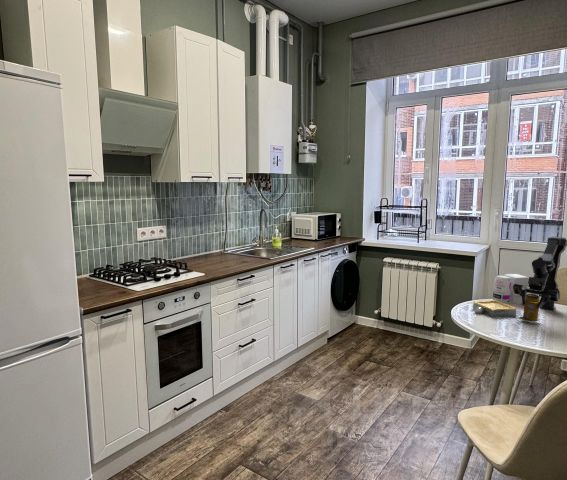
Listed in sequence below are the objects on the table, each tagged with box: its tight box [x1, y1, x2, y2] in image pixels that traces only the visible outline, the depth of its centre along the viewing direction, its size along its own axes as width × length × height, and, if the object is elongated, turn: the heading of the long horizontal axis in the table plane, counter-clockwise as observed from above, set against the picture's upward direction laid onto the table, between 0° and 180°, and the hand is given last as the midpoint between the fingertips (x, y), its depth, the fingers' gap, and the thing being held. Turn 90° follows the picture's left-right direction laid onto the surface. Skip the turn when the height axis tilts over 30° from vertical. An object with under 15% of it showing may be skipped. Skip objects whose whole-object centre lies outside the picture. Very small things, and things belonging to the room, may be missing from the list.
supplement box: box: [503, 273, 530, 304], centre depth 228 cm, size 9×9×15 cm
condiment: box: [517, 293, 542, 324], centre depth 192 cm, size 7×8×12 cm
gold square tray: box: [472, 299, 517, 318], centre depth 206 cm, size 18×14×4 cm
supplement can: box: [492, 274, 511, 305], centre depth 224 cm, size 8×8×15 cm
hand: (530, 306), depth 190 cm, fingers closed on condiment, 6 cm apart
